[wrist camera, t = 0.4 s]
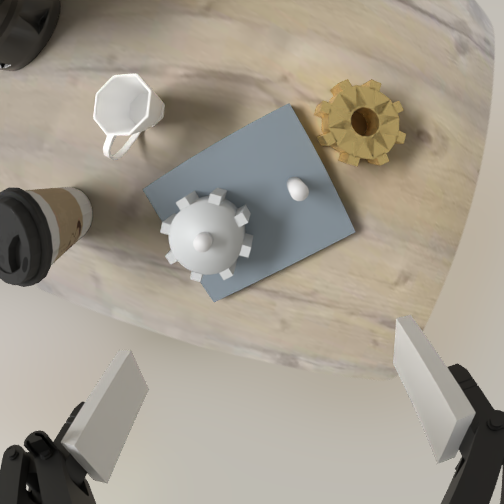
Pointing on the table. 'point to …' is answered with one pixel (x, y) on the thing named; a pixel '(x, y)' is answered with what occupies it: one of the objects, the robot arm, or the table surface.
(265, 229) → the gear board
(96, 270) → the table surface
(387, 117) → the brass gear
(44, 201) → the coffee cup
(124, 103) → the cup
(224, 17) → the table surface
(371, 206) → the table surface
